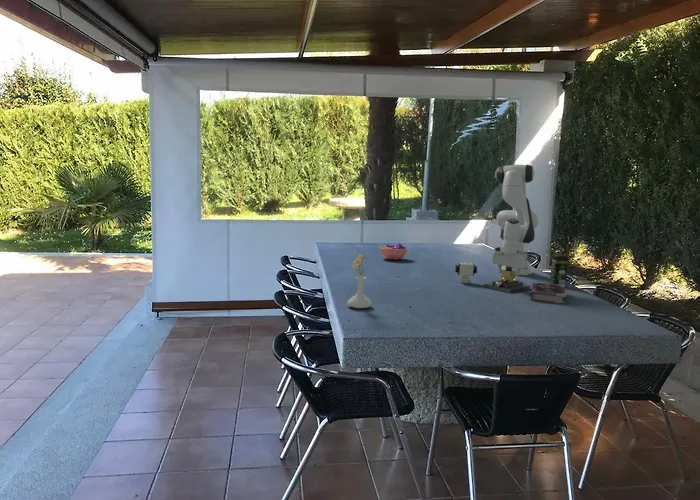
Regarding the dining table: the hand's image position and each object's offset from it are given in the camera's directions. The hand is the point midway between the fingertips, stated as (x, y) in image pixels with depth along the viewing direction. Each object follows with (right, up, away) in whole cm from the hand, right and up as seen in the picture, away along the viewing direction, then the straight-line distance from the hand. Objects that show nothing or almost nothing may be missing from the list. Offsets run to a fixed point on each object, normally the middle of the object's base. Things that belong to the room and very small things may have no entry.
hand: (508, 274), depth 315 cm
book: (+16, -12, -16) cm, 25 cm away
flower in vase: (-82, -13, -53) cm, 99 cm away
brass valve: (0, -6, +1) cm, 6 cm away
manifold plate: (0, -8, +1) cm, 8 cm away
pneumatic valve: (-22, -5, +11) cm, 25 cm away
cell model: (-57, +7, +78) cm, 97 cm away
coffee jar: (+32, -7, +13) cm, 35 cm away
